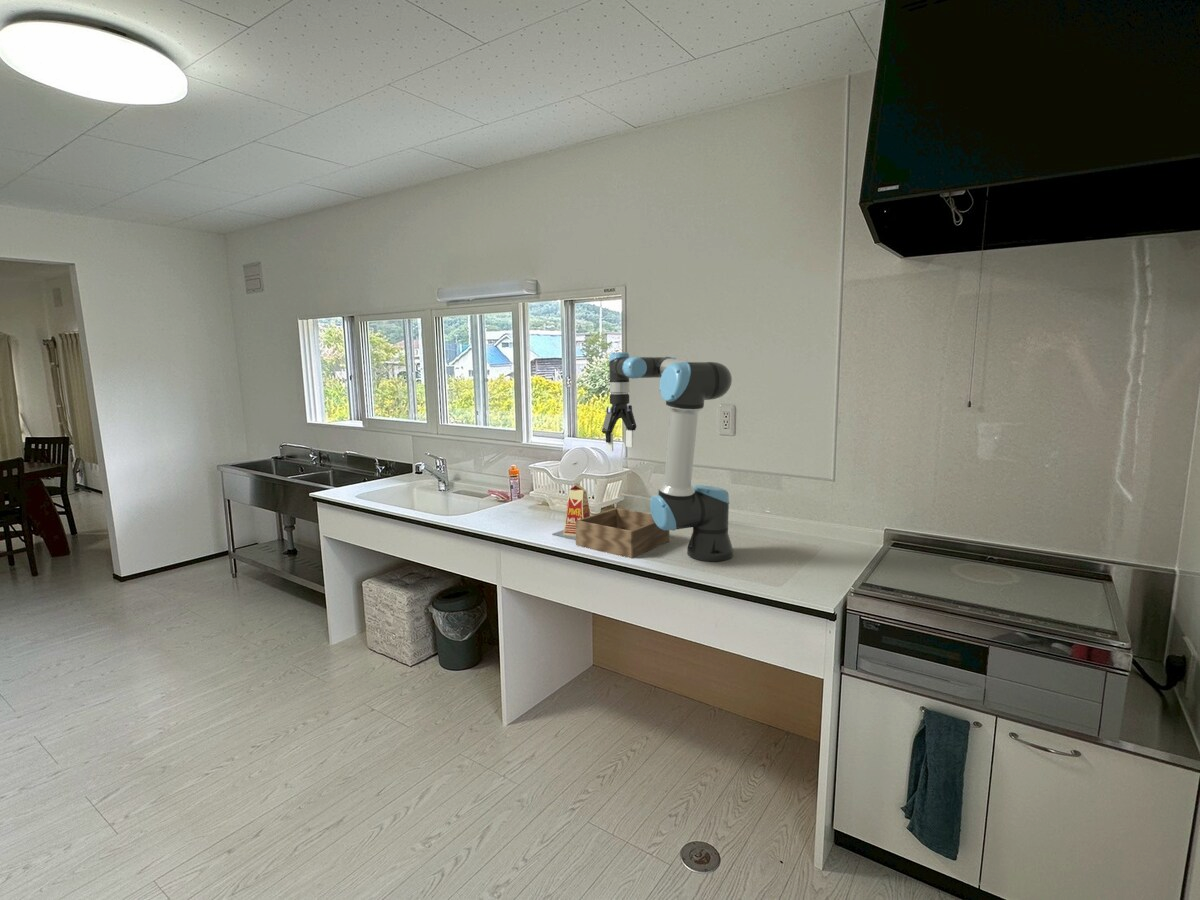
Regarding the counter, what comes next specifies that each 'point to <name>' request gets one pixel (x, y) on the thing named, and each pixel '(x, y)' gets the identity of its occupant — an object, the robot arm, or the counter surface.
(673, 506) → the robot arm
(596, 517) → the walnut surround
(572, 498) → the milk carton
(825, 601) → the counter surface
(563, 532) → the slate mat
